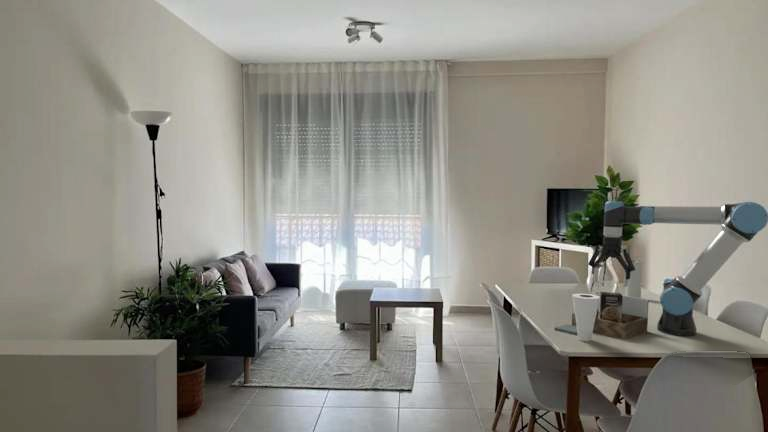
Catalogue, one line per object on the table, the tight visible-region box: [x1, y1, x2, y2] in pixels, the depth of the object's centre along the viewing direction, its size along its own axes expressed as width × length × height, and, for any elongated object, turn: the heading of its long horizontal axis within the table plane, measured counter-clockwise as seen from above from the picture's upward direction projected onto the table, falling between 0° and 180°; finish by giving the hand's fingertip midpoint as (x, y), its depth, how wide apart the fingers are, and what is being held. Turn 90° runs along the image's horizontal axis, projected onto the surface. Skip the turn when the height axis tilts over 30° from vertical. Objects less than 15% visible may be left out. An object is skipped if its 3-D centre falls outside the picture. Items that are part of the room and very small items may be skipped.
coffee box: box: [598, 291, 624, 323], centre depth 237 cm, size 9×6×16 cm
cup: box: [571, 293, 600, 342], centre depth 219 cm, size 11×11×18 cm
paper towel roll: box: [624, 260, 643, 298], centre depth 310 cm, size 7×6×21 cm
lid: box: [595, 290, 649, 319], centre depth 244 cm, size 24×1×8 cm, turn 40°
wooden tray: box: [571, 310, 649, 340], centre depth 237 cm, size 24×21×6 cm
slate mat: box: [554, 323, 578, 336], centre depth 234 cm, size 10×10×1 cm
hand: (610, 284), depth 237 cm, fingers open, 13 cm apart
